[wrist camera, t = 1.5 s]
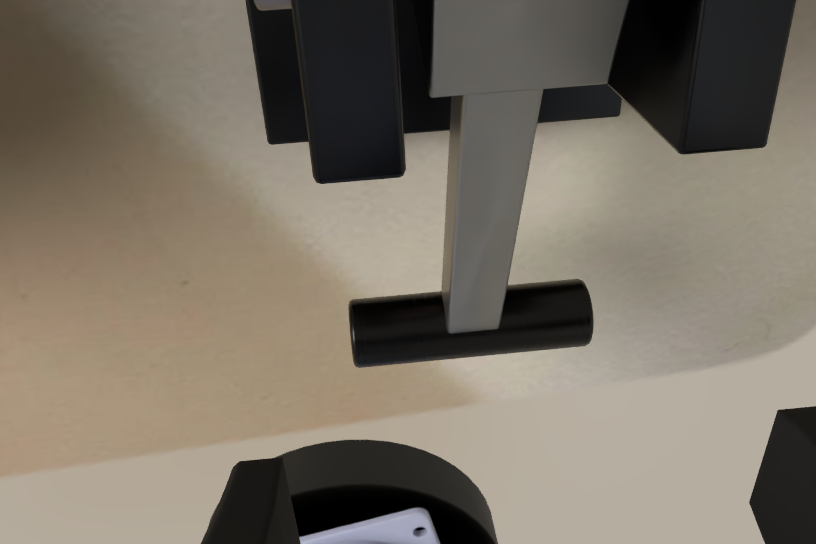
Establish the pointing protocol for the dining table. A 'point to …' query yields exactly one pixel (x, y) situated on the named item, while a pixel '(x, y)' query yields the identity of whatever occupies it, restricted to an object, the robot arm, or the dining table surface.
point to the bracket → (629, 80)
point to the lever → (492, 179)
